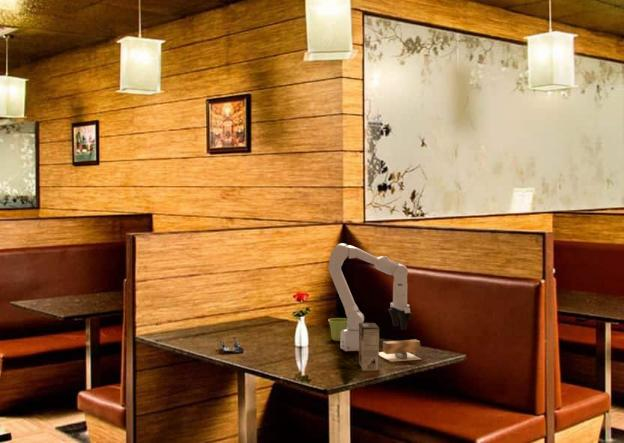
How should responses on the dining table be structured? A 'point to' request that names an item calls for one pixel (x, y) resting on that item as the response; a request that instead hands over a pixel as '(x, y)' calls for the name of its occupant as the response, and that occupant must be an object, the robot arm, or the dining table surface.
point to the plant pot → (337, 327)
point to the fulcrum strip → (401, 355)
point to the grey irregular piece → (235, 350)
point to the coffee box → (368, 346)
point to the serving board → (393, 358)
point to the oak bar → (401, 346)
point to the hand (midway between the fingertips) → (399, 327)
